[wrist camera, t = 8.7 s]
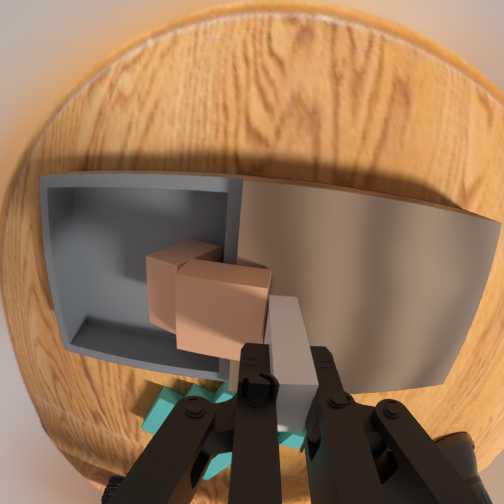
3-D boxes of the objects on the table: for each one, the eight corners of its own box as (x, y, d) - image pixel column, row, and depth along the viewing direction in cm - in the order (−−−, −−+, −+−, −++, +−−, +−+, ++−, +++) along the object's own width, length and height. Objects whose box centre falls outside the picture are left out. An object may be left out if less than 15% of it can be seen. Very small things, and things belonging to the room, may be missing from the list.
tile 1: (271, 269, 16) (267, 288, 13) (262, 339, 17) (257, 363, 15) (190, 258, 16) (174, 274, 14) (190, 326, 17) (177, 348, 15)
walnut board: (463, 209, 19) (501, 223, 15) (420, 352, 24) (443, 384, 19) (246, 175, 19) (243, 180, 14) (233, 349, 24) (228, 391, 19)
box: (246, 175, 19) (244, 179, 15) (233, 349, 24) (229, 381, 20) (70, 171, 19) (39, 176, 15) (85, 326, 23) (64, 349, 20)
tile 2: (177, 265, 15) (145, 255, 16) (178, 335, 17) (149, 322, 18) (221, 245, 19) (192, 239, 20) (218, 306, 20) (191, 297, 21)
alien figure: (363, 409, 27) (192, 338, 24) (368, 424, 25) (187, 353, 22) (265, 483, 32) (132, 436, 29) (265, 494, 30) (127, 449, 27)
